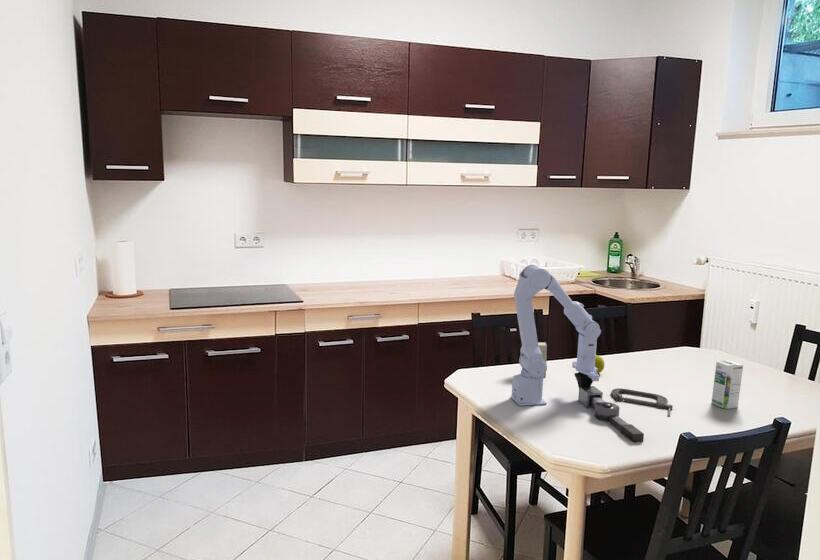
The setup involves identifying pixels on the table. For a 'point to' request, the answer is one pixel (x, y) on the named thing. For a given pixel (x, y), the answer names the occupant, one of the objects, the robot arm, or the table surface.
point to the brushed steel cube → (588, 395)
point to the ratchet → (615, 419)
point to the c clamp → (659, 404)
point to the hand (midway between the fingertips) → (583, 395)
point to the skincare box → (543, 351)
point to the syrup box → (727, 384)
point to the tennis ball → (599, 364)
